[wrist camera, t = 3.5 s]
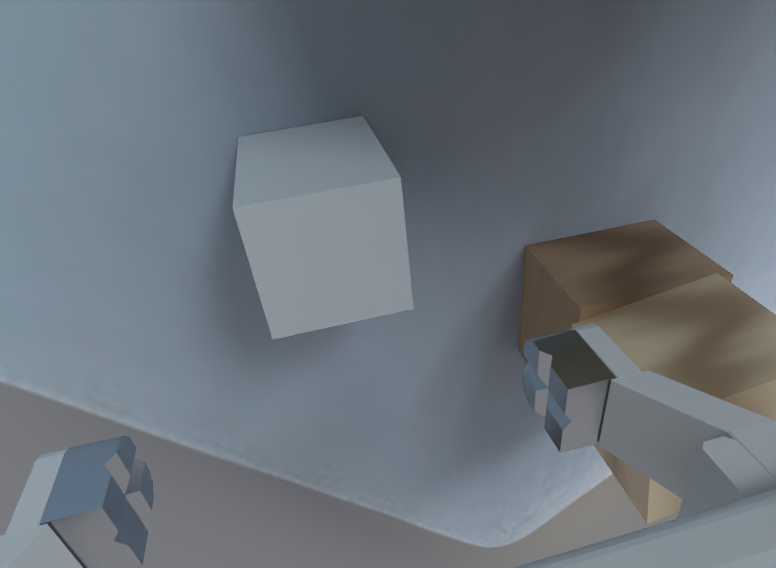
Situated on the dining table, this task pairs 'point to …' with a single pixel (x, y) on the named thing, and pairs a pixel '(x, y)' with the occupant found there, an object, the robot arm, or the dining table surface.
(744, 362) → the oak block
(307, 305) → the grey block
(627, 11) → the dining table surface
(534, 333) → the walnut block
